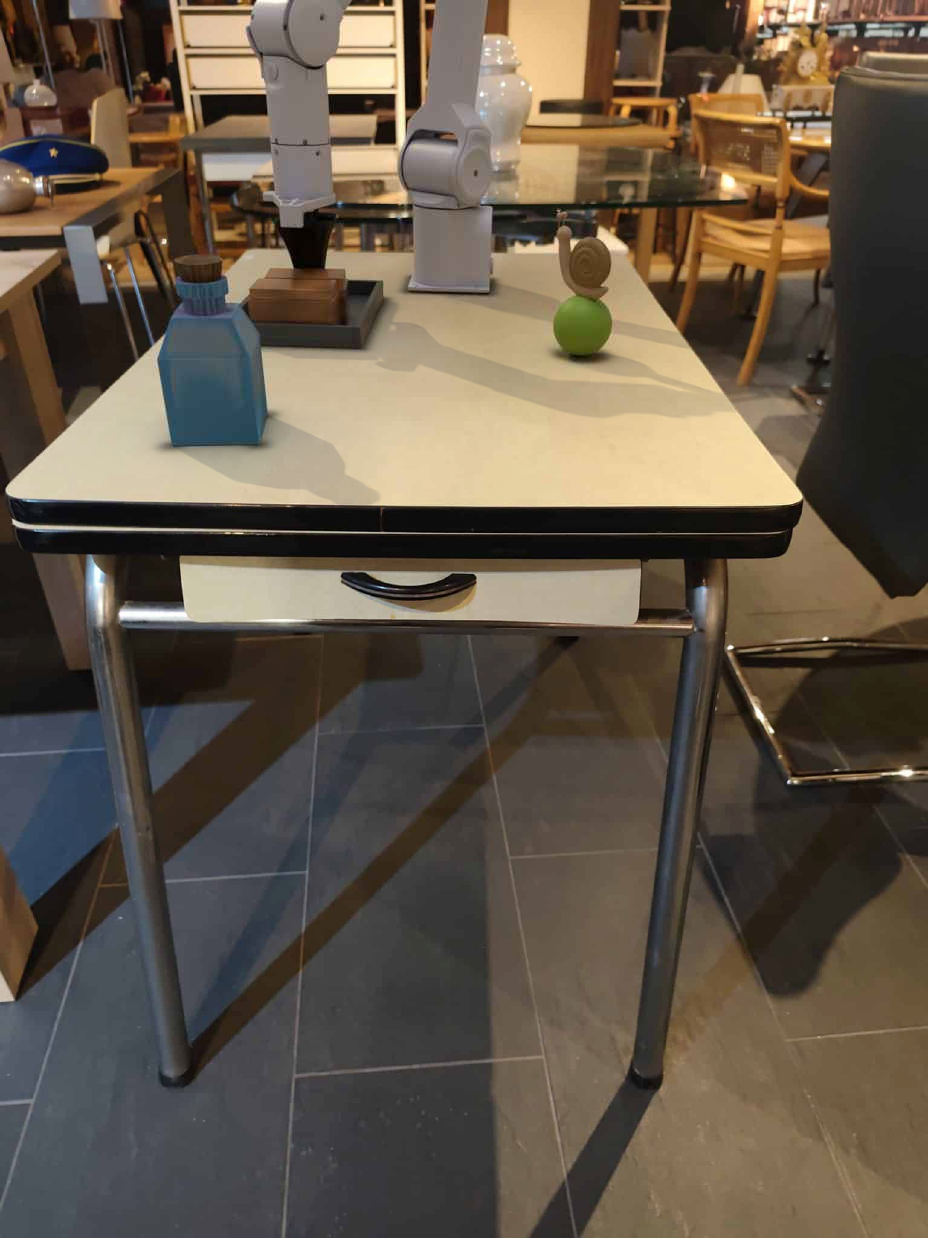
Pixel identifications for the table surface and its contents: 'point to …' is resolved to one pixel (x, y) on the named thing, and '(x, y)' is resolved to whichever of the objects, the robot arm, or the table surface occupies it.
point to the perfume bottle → (211, 362)
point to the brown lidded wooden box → (318, 275)
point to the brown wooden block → (295, 301)
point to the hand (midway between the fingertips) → (311, 290)
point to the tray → (362, 314)
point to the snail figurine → (583, 294)
